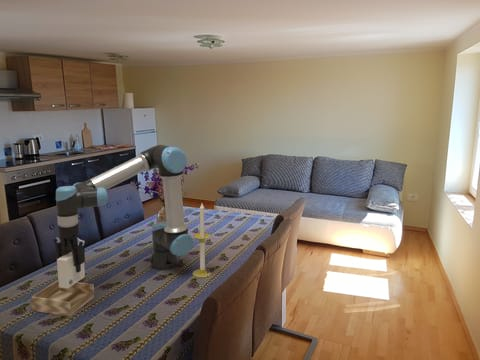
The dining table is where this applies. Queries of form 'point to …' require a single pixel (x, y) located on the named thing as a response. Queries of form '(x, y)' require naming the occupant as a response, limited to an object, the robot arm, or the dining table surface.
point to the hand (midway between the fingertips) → (72, 278)
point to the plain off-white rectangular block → (68, 271)
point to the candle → (201, 246)
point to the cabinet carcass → (62, 298)
